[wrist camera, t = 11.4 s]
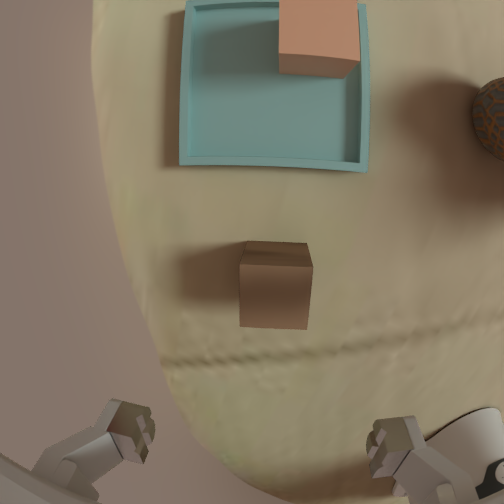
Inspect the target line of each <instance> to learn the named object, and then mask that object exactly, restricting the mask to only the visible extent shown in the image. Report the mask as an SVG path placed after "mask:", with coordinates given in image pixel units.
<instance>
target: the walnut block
mask: <svg viewBox="0 0 504 504" xmlns="http://www.w3.org/2000/svg"><path fill="white" fill-rule="evenodd" d="M312 275H313V264H312V261H311V257H310V253H309V249H308V245H307V243H292V242H267V241H247V244H246V247H245V249H244V252H243V255H242V258H241V261H240V264H239V298H240V327H254V328H274V329H301V330H307V324H308V315H309V306H310V296H311V286H312Z"/></svg>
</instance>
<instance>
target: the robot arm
mask: <svg viewBox="0 0 504 504" xmlns="http://www.w3.org/2000/svg"><path fill="white" fill-rule="evenodd" d="M150 416H151V410H150V408H149V407H145V406H141V405H137V404H133V403H129V402H125V401H121V400H117V399H111V400H109V402H108V403H107V405H106V407H105V409H104V410H103V412H102V414H101V415H100V417H99V419H98V420H97V422H96V424H95V425H94V427H91V426H90V427H88V428H86V429H84V430H82V431H80V432H78V433H77V434H74V435H72V436H70V437H68V438H66V439H65V440H62V441H60V442H58V443H56V444H54V445H52V446H50V447H48V448H46V449H45V450H44V452H43V453H42V455H41V457H40V458H39V460H38V461H37V463H36V464H35V466H34V468H33V469H32V471H30V470H28V469H26V468H24V467H23V466H21V465H19V464H18V463H16V462H14V461H13V460H11V459H9V458H8V457H6V456H5V455H3V454H2V453H0V504H101V503H99V502H97V500H98V498H99V493H98V492H97V491H96V489H95V488H94V487H93V486H92V483H93V482H94V481H96V480H97V479H99V478H100V477H101V476H103V475H104V474H106V473H107V472H108V471H110V470H111V469H112V468H114V467H115V466H117V465H118V464H119V463H120V462H122V461H123V459H124V460H128V461H132V462H136V463H140V464H144V462H145V459H146V457H147V454H148V452H149V451H148V449H147V445H149V444H151V443H152V442H153V439H154V435H155V423H154V420H152V419H151V418H150ZM366 451H367V456H369V457H370V458H371V459H372V461H371V462H370V464H369V466H370V471H371V476H372V478H379V477H388V476H393V478H394V479H395V480H396V482H395V485H394V487H393V490H392V493H393V495H394V496H399V497H403V496H408V499H409V503H410V504H504V424H503V423H502V419H501V414H500V412H499V410H497V409H495V408H486V409H482V410H478V411H475V412H473V413H470V414H468V415H466V416H464V417H462V418H460V419H459V420H457V421H455V422H453V423H452V424H450V425H449V426H447V427H446V428H444V429H443V430H441V431H440V432H439V433H437V434H436V435H435V436H434V437H432V438H431V439H429V440H428V441H426V442H425V440H424V438H423V435H422V433H421V430H420V427H419V425H418V422H417V420H416V417H415V416H414V415H413V416H405V417H395V418H387V419H378V420H376V421H375V422H374V424H373V431H371V432H370V433H369V435H368V437H367V442H366Z"/></svg>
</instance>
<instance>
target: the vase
mask: <svg viewBox="0 0 504 504" xmlns="http://www.w3.org/2000/svg"><path fill="white" fill-rule="evenodd" d="M473 123H474V127H475V130H476V133H477V135H478V137H479V139H480V141H481V142H482V144H483V145H484V146H485V148H486V149H487V150H488V151H489V152H490V153H492V154H493V155H494V156H496V157H497V158H499V159H500V160H502V161H504V77H502V78H498V79H495V80H492V81H490V82H489V83H487V84H486V85H484V86H483V87H482V88H481V90H480V91H479V92H478V94H477V96H476V98H475V100H474V104H473Z"/></svg>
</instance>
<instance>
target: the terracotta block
mask: <svg viewBox="0 0 504 504" xmlns="http://www.w3.org/2000/svg"><path fill="white" fill-rule="evenodd" d="M359 62H360V43H359V23H358V8H357V0H279V74H295V75H310V76H321V77H331V78H340V79H344V77H345V76H346V75H347V74H348V73H349V72H350V71H351V70H352V69H353V68H354V67H355V66H356V65H357V64H358V63H359Z"/></svg>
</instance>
